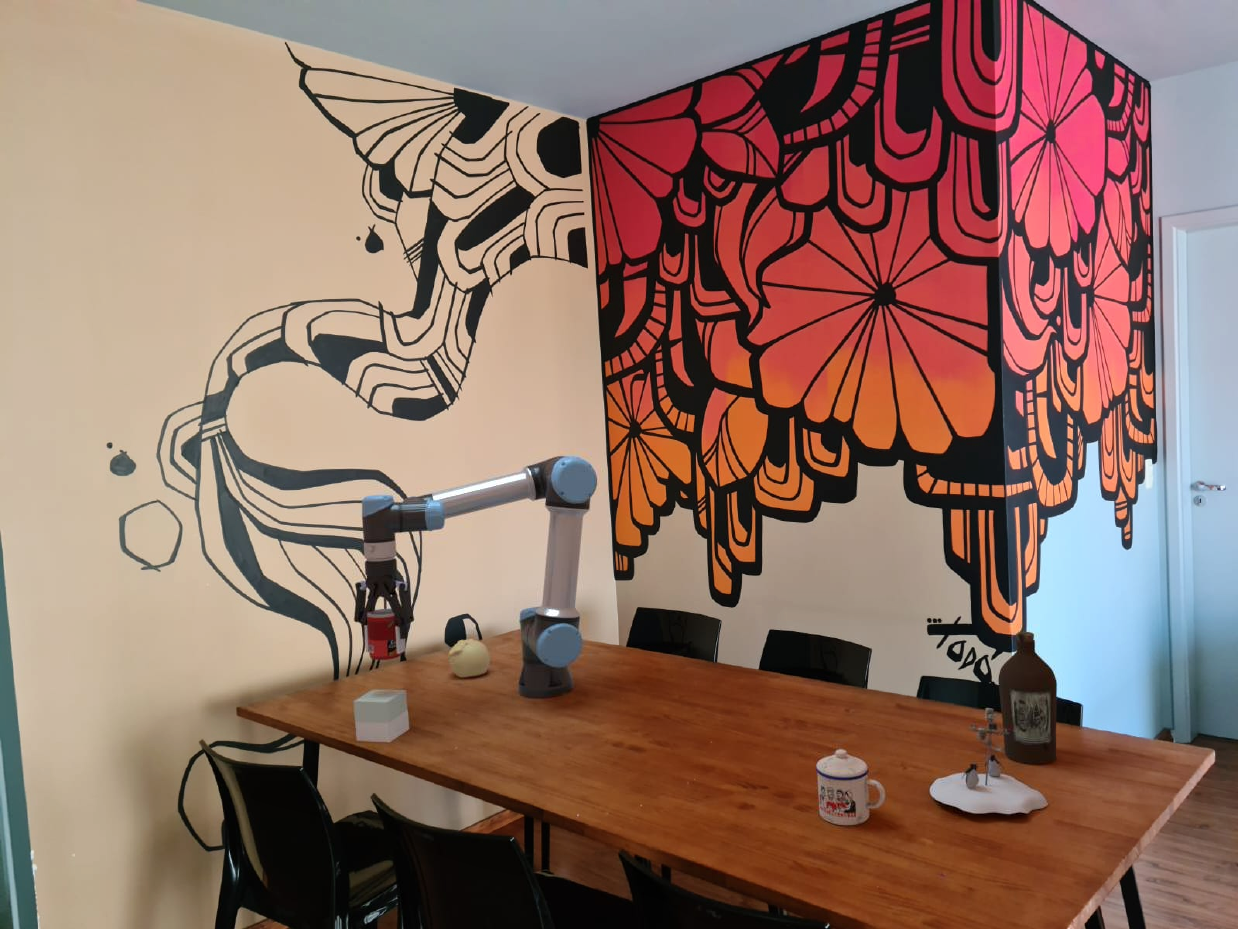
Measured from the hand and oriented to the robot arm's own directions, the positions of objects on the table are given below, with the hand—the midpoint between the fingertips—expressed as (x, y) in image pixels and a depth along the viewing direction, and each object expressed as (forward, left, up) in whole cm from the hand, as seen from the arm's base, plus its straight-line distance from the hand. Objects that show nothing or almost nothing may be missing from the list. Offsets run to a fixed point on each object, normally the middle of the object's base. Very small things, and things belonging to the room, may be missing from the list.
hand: (385, 651), depth 213 cm
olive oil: (-144, -6, -20) cm, 145 cm away
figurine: (-134, +16, -21) cm, 136 cm away
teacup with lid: (-111, +27, -20) cm, 116 cm away
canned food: (0, 0, -1) cm, 1 cm away
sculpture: (+3, -47, -20) cm, 52 cm away
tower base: (+1, +2, -20) cm, 21 cm away
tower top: (+1, +2, -15) cm, 16 cm away
